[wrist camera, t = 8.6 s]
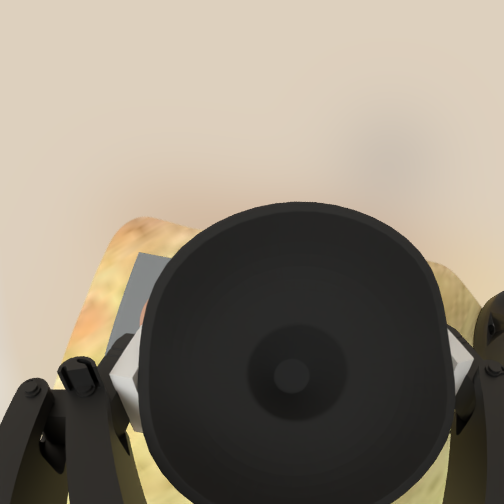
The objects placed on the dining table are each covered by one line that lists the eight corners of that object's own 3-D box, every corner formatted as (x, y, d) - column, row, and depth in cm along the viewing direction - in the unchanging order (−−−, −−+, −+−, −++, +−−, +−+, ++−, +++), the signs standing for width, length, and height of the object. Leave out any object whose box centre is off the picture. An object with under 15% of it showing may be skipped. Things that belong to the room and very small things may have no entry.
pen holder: (390, 359, 15) (501, 313, 6) (295, 482, 12) (330, 574, 3) (271, 274, 18) (275, 157, 9) (171, 387, 15) (67, 372, 6)
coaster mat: (252, 276, 32) (252, 273, 31) (223, 401, 26) (222, 401, 25) (141, 255, 34) (138, 252, 33) (106, 363, 28) (102, 362, 27)
